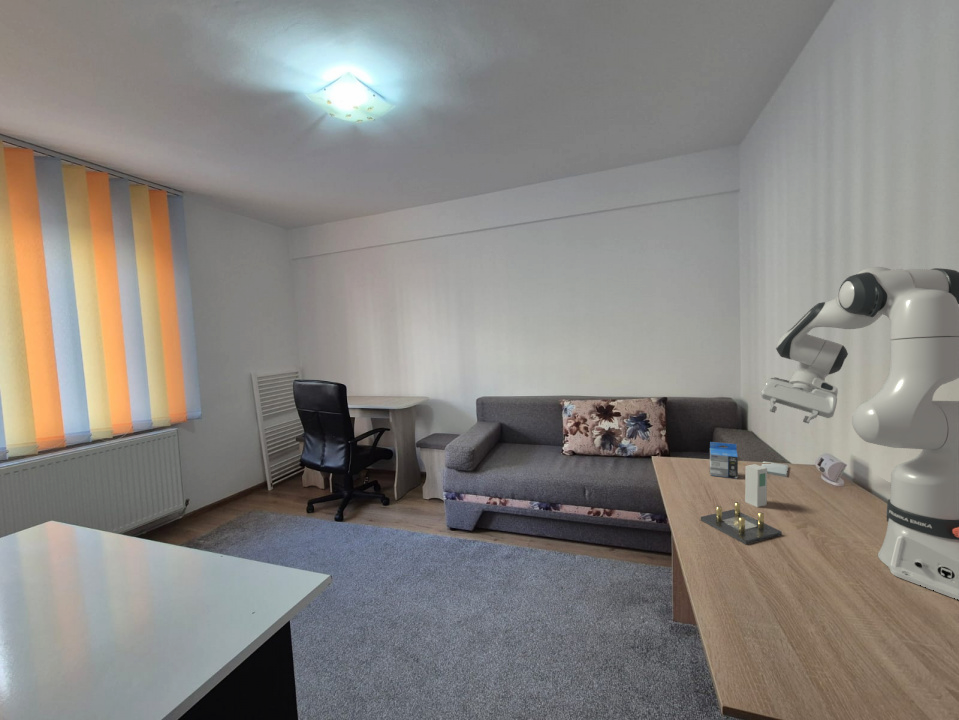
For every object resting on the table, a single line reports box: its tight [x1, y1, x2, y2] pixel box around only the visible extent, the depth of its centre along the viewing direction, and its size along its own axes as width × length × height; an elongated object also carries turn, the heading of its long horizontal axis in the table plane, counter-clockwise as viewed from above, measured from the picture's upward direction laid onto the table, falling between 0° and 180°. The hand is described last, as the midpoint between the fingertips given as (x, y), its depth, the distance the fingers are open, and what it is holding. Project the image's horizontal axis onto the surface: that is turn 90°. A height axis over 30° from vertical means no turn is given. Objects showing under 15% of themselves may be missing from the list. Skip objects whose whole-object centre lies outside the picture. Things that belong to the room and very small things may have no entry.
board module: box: [744, 463, 768, 508], centre depth 122 cm, size 4×4×12 cm
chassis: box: [700, 501, 783, 545], centre depth 109 cm, size 14×13×5 cm
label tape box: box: [709, 441, 739, 479], centre depth 145 cm, size 9×4×12 cm, turn 61°
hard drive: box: [760, 461, 789, 478], centre depth 149 cm, size 2×8×12 cm
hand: (788, 416), depth 131 cm, fingers open, 8 cm apart
